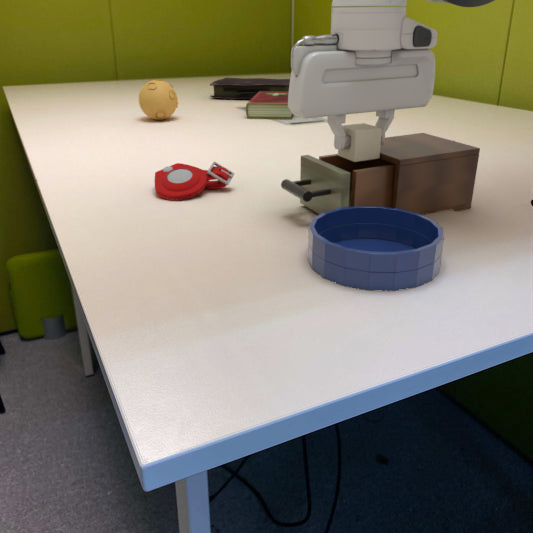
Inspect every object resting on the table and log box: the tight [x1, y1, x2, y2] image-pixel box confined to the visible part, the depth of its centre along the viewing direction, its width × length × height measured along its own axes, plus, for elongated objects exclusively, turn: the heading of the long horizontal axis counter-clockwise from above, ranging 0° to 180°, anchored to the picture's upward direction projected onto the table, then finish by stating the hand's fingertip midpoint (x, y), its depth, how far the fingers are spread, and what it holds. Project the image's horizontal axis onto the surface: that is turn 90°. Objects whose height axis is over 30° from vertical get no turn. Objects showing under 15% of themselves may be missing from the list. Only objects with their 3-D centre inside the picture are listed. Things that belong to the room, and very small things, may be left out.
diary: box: [209, 77, 290, 100], centre depth 177 cm, size 19×25×5 cm
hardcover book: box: [245, 92, 295, 120], centre depth 151 cm, size 12×21×4 cm, turn 172°
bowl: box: [307, 206, 445, 292], centre depth 60 cm, size 14×14×4 cm
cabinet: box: [379, 132, 481, 216], centre depth 78 cm, size 14×12×9 cm
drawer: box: [280, 153, 396, 215], centre depth 74 cm, size 17×10×7 cm, turn 116°
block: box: [337, 122, 382, 162], centre depth 72 cm, size 4×4×4 cm
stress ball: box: [138, 78, 179, 121], centre depth 140 cm, size 10×10×10 cm
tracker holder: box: [154, 161, 235, 201], centre depth 87 cm, size 12×4×10 cm
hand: (359, 146), depth 73 cm, fingers closed on block, 4 cm apart
